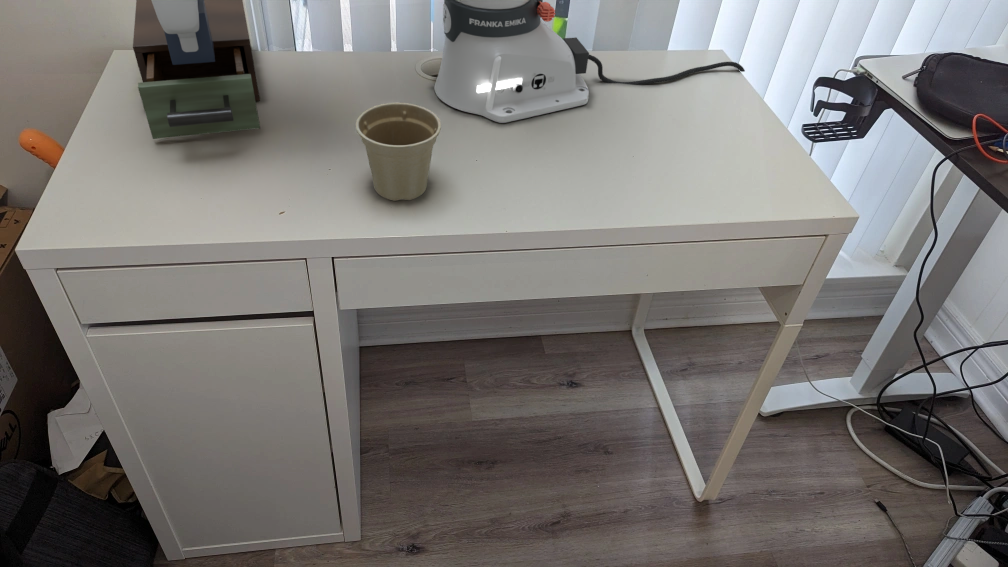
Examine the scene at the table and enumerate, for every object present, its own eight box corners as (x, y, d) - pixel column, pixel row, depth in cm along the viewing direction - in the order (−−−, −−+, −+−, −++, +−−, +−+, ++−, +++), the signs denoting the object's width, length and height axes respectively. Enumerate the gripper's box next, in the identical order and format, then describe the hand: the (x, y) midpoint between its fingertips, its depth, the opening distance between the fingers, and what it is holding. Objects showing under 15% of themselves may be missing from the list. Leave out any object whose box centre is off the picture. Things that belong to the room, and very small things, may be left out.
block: (213, 44, 91) (203, -4, 87) (215, 62, 88) (204, 13, 83) (172, 47, 89) (160, -1, 85) (172, 65, 86) (160, 15, 82)
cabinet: (260, 100, 99) (249, 38, 93) (150, 110, 95) (132, 46, 89) (251, 50, 110) (241, -8, 104) (152, 57, 106) (136, -3, 100)
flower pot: (427, 217, 82) (427, 152, 76) (348, 202, 83) (342, 137, 77) (448, 173, 89) (450, 110, 83) (375, 159, 90) (372, 96, 84)
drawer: (263, 149, 88) (254, 98, 84) (152, 161, 85) (136, 108, 80) (251, 75, 102) (242, 28, 97) (154, 83, 98) (141, 34, 94)
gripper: (132, -113, 84) (162, 5, 93) (125, -53, 70) (161, 79, 79) (190, -114, 86) (214, 2, 95) (195, -55, 72) (222, 74, 81)
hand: (190, 38), depth 87 cm, fingers closed on block, 5 cm apart
